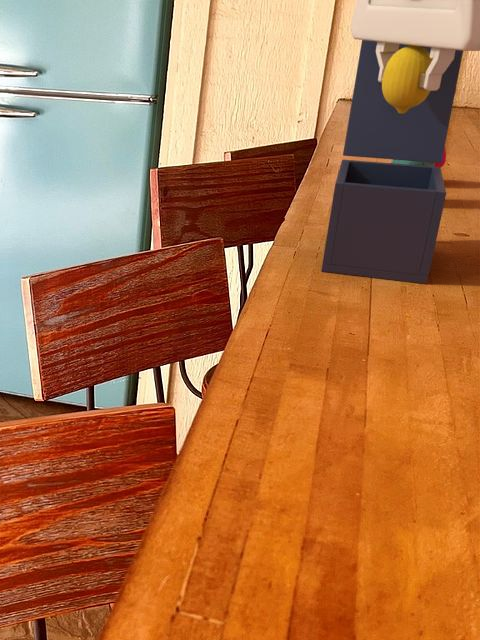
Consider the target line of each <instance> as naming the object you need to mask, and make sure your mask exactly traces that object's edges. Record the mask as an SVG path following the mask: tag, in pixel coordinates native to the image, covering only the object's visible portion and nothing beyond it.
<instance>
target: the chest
mask: <svg viewBox="0 0 480 640" xmlns="http://www.w3.org/2000/svg"><path fill="white" fill-rule="evenodd" d="M441 168H442V167H441ZM441 168H440V167H433V166H420V165H407V164H395V163H391V162H382V161H381V162H380V161H366V160H355V159H341V162H340V166H339V170H338V173H337V177H336V180H335V184H334V188H333V195H332V201H331V207H330V214H329V220H328V226H327V232H326V239H325V245H324V250H323V251H324V252H323V258H322V263H321V269H320V270H321V271H320V272H323V273H329V274H330V273H331V274H338V275H348V276H356V277H363V278H373V279H381V280H390V281H397V282H406V283H414V284H423V285H427V284H428V281H429V275H430V272H431V267H432V262H433V258H434V253H435V249H436V244H437V239H438V234H439V230H440V225H441V222H442V221H441V220H442V217H443V211H444V206H445V202H446V197H447V190H446V189H447V188H446V185H445V181H444V178H443V172H442V169H441Z"/></svg>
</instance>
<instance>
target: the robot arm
mask: <svg viewBox="0 0 480 640" xmlns="http://www.w3.org/2000/svg"><path fill="white" fill-rule="evenodd" d="M355 1H356V2H355V5H354V9H353V14H352V18H351V23H350V33H351V36H352V38H353V39H354V40H357V41H362V40H368V41H377V47H376V55H377V59H378V63H379V67H380V71H379V77H378V81H379V82H380V83H382V79H383V74H384V71H385V68H386V65H387V63H388V61H389V60H390V58H391V57H392V56H393V54H395V52H397V51H398V49H399V44H405V45H415V46H424V47H431V52H430V58H433V60H432V62H431V64H430V65H429V67H428V69H427V71H426V73H420V77H419V83H418V88H419V89H422V90H428V91H436V90H438V89H439V87H440V82H441V78H442V74H443V73H444V72H445V71H446V69H447V68H448V66H449V65H450V64H451V62H452V61H453V59H454V55H455V50H462V51H463V52H479V51H480V0H355Z"/></svg>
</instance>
